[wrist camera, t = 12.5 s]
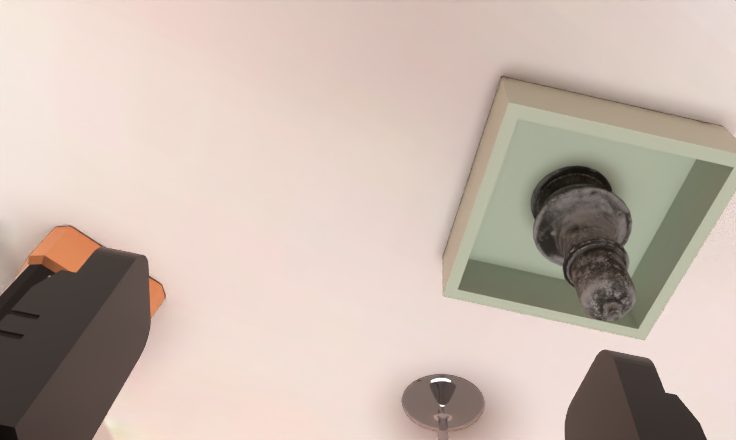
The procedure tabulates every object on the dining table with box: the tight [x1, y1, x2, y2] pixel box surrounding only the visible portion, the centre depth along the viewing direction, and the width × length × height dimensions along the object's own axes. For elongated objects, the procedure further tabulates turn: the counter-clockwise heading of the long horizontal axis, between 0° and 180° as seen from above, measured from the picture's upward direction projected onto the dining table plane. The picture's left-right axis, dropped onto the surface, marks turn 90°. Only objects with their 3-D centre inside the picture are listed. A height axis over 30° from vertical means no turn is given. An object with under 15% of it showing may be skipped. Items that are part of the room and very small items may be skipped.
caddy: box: [442, 76, 736, 340], centre depth 38 cm, size 14×14×4 cm
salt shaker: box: [531, 166, 636, 321], centre depth 35 cm, size 6×6×12 cm
